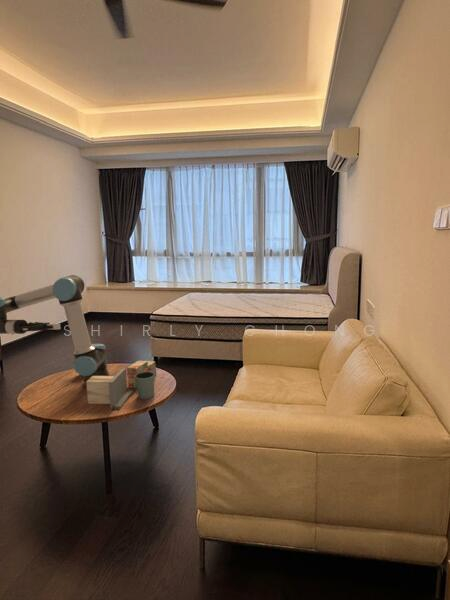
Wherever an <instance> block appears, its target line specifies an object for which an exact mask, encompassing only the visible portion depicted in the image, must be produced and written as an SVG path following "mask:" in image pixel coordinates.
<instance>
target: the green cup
mask: <svg viewBox="0 0 450 600" xmlns="http://www.w3.org/2000/svg"><path fill="white" fill-rule="evenodd" d="M155 377H156V376H155V374H154V373H153V372H141V373H138V374H136V375H135V380H136V385H137V388H136V390H137V396H138V398H139V399H140V400H149V399H152V398H154V397H155Z"/></svg>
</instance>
